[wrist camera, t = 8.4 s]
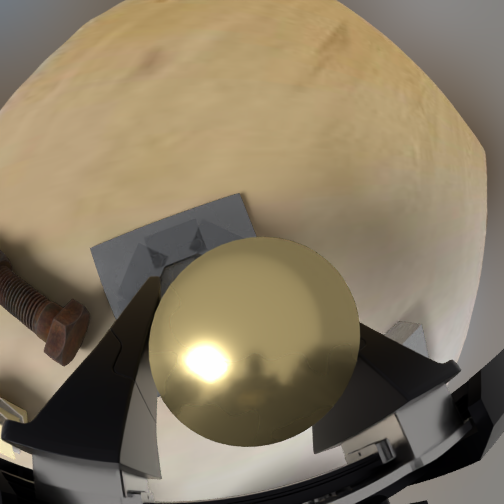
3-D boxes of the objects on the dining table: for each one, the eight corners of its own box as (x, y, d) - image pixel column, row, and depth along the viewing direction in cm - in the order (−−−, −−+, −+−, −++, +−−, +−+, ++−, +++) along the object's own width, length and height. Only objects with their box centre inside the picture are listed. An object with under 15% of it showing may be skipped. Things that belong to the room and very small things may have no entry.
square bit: (412, 378, 30) (433, 384, 26) (394, 396, 28) (415, 405, 25) (397, 320, 29) (421, 324, 25) (377, 339, 28) (400, 345, 24)
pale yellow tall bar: (247, 295, 18) (387, 315, 6) (209, 349, 17) (285, 468, 5) (193, 254, 17) (243, 190, 5) (152, 310, 16) (105, 378, 4)
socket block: (292, 334, 25) (312, 343, 21) (155, 395, 21) (153, 415, 17) (237, 194, 25) (249, 180, 21) (92, 249, 20) (77, 243, 17)
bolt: (-9, 250, 18) (92, 325, 21) (-32, 286, 15) (70, 371, 18) (-25, 215, 14) (85, 300, 17) (-55, 256, 11) (55, 359, 14)
